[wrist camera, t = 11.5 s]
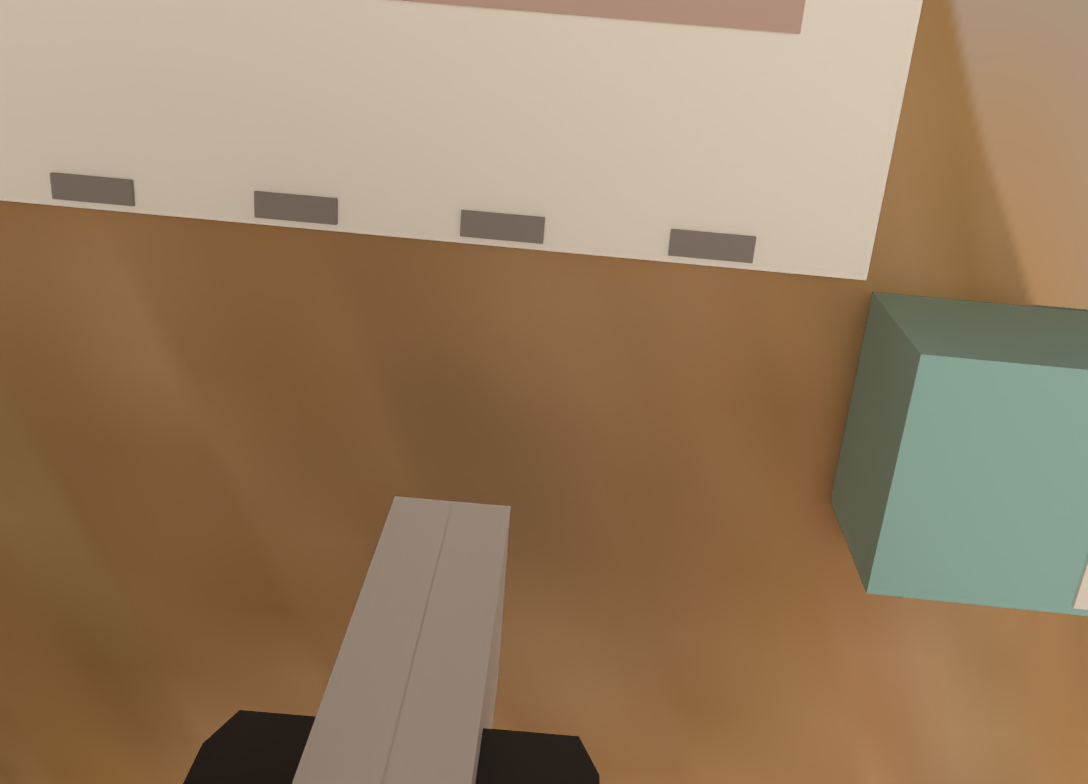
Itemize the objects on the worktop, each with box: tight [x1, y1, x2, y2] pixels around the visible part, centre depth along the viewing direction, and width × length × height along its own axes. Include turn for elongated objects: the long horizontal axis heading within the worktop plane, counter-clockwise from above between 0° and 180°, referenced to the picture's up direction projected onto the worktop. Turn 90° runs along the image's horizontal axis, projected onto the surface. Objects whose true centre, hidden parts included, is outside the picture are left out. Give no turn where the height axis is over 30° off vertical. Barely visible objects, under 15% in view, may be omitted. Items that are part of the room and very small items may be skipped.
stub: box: [830, 292, 1088, 616], centre depth 21 cm, size 6×5×4 cm
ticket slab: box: [0, 0, 923, 280], centre depth 19 cm, size 22×8×2 cm, turn 86°
